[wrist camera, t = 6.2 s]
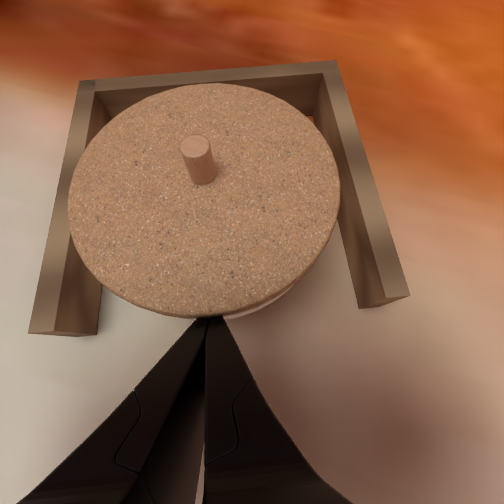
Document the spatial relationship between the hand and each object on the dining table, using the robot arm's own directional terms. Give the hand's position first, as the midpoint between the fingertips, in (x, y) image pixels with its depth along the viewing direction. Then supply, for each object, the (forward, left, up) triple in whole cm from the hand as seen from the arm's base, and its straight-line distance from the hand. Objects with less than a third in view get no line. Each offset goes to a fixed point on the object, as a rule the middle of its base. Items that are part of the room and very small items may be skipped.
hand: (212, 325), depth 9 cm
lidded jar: (+4, -4, -7) cm, 9 cm away
